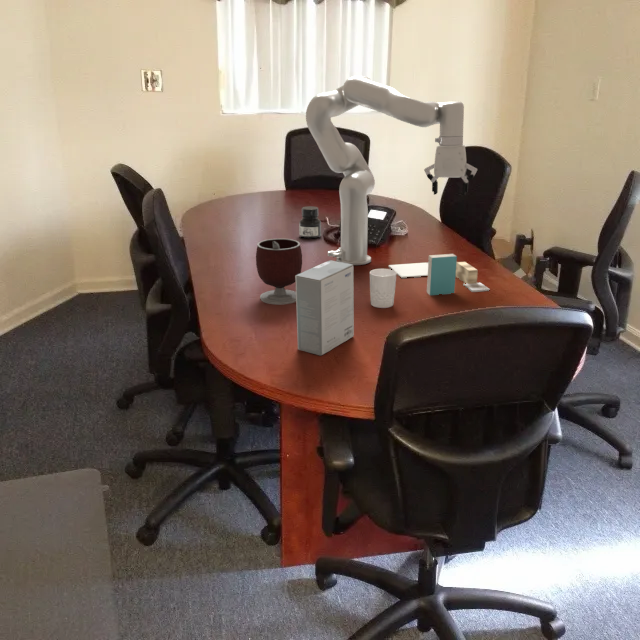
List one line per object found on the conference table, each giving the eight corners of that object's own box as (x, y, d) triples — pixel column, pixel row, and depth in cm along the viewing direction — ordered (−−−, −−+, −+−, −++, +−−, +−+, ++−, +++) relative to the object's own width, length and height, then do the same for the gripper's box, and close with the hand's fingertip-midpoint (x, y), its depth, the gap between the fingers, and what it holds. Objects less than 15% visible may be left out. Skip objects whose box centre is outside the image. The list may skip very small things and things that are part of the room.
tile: (430, 295, 208) (432, 258, 204) (426, 292, 211) (428, 255, 207) (454, 293, 210) (456, 256, 206) (450, 290, 213) (453, 253, 208)
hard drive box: (330, 330, 181) (330, 259, 174) (354, 336, 177) (355, 264, 170) (296, 349, 169) (294, 274, 162) (321, 356, 165) (320, 279, 158)
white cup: (367, 300, 204) (367, 268, 201) (392, 299, 205) (393, 268, 201) (371, 309, 197) (371, 276, 193) (397, 308, 197) (398, 275, 194)
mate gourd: (262, 290, 214) (259, 228, 206) (305, 291, 212) (304, 229, 205) (252, 306, 199) (249, 240, 192) (298, 308, 198) (297, 242, 191)
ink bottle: (295, 238, 276) (294, 209, 272) (303, 233, 284) (303, 205, 279) (317, 240, 273) (316, 211, 268) (325, 235, 280) (325, 206, 276)
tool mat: (401, 278, 224) (401, 276, 224) (388, 266, 237) (388, 265, 237) (468, 273, 229) (468, 271, 229) (452, 262, 242) (452, 260, 242)
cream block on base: (451, 276, 226) (452, 262, 224) (467, 275, 227) (469, 261, 226) (472, 292, 211) (473, 277, 209) (489, 290, 212) (491, 275, 211)
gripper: (422, 142, 218) (421, 195, 224) (476, 142, 212) (474, 196, 218) (427, 140, 225) (426, 191, 231) (479, 140, 219) (477, 192, 225)
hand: (449, 194), depth 224 cm, fingers open, 9 cm apart
